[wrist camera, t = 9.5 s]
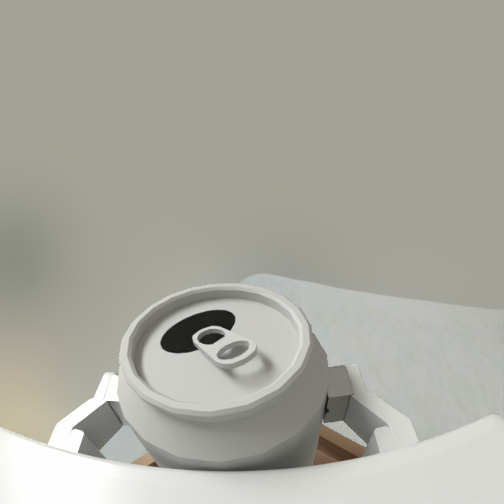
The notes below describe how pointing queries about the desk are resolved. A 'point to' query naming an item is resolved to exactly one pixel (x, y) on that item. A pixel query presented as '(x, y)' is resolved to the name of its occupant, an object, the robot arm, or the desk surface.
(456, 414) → the desk surface
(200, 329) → the can
